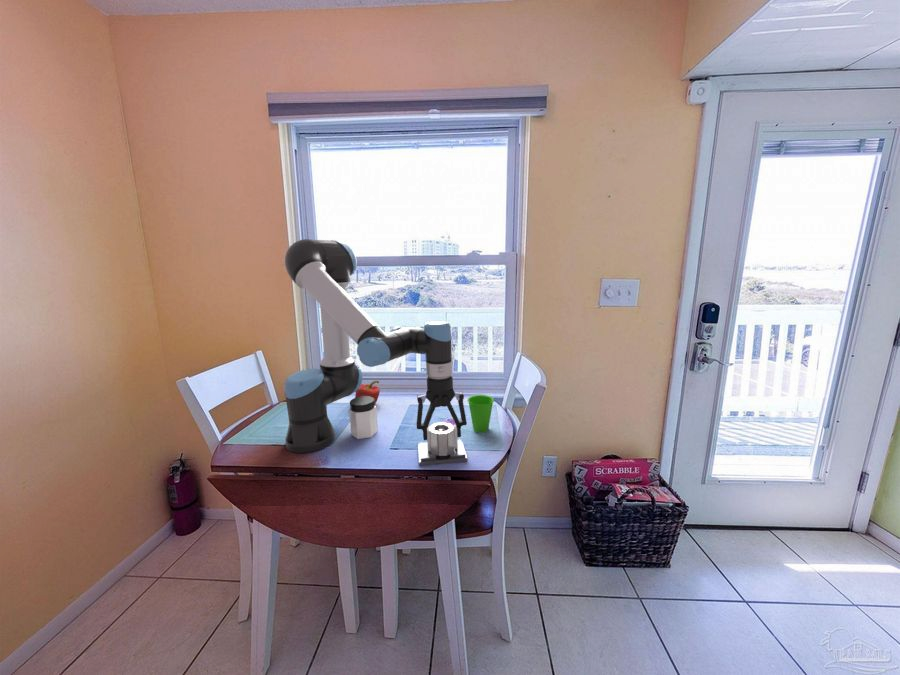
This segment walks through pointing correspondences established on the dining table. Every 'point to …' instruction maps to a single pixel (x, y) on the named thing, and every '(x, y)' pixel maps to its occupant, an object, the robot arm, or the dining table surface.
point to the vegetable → (368, 391)
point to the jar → (363, 417)
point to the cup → (480, 411)
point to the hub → (442, 439)
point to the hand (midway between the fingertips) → (442, 447)
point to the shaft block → (432, 459)
